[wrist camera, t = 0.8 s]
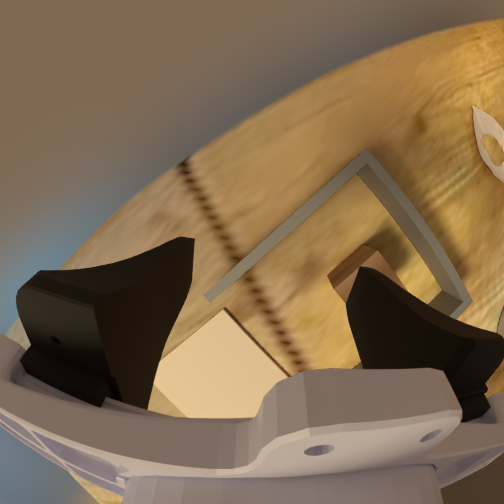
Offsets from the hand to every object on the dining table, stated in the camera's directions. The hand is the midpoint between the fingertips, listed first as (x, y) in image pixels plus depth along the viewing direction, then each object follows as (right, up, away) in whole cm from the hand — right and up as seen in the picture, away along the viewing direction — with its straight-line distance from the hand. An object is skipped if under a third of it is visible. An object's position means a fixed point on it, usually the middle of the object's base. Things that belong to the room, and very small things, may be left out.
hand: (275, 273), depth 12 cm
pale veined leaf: (+30, +14, +12) cm, 35 cm away
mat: (-5, -16, +20) cm, 26 cm away
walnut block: (+10, -2, +16) cm, 19 cm away
